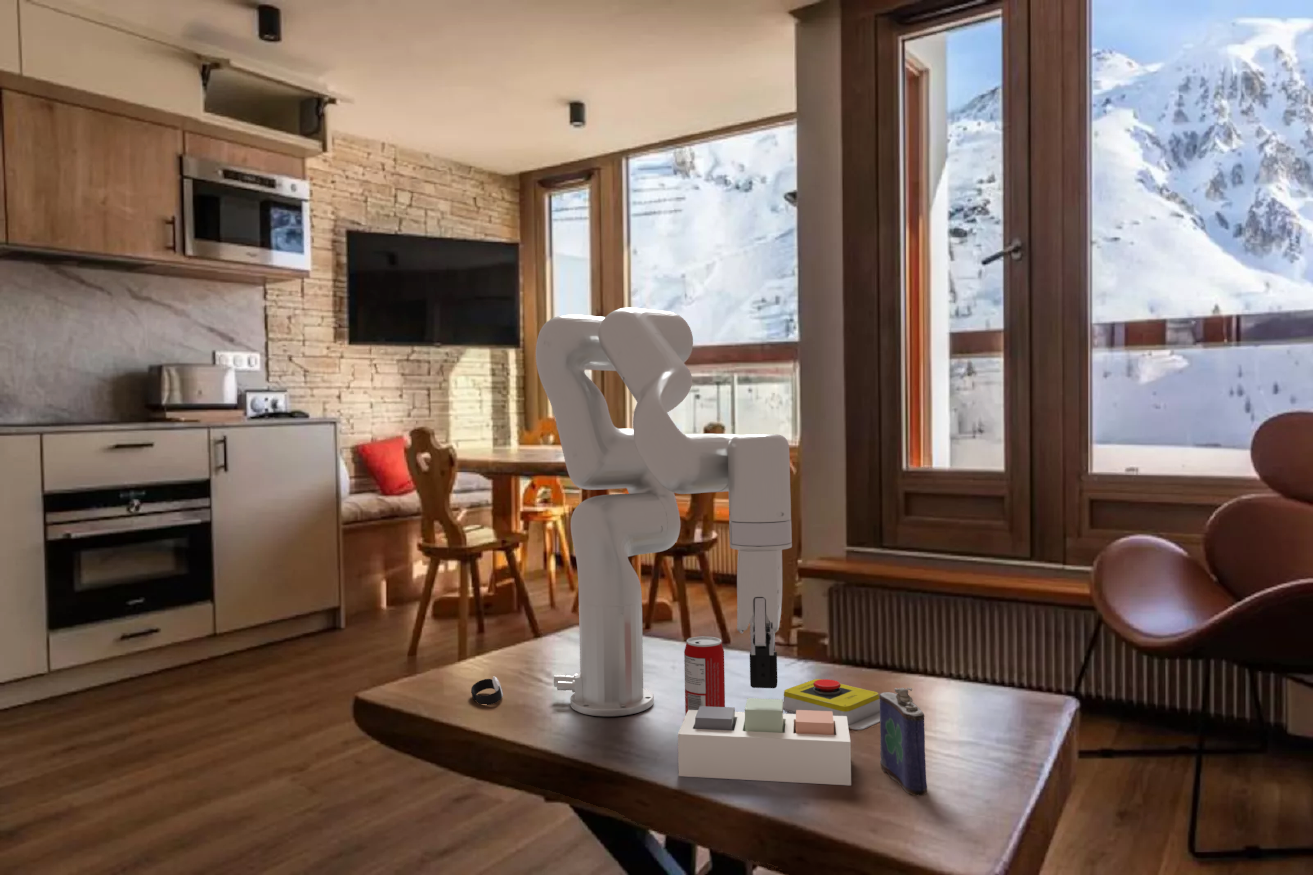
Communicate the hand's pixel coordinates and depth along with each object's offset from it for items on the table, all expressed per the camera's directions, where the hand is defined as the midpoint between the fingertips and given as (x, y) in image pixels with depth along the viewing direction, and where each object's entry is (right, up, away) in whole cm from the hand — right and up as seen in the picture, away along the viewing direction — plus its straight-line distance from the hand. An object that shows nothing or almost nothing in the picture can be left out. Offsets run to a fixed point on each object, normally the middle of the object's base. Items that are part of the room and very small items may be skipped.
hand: (764, 685), depth 103 cm
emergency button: (+13, -10, +21) cm, 26 cm away
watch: (-39, -11, +29) cm, 50 cm away
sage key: (0, -6, 0) cm, 6 cm away
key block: (0, -10, 0) cm, 10 cm away
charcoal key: (-6, -8, +1) cm, 10 cm away
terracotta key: (+6, -7, -1) cm, 10 cm away
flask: (+16, -10, -4) cm, 19 cm away
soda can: (-6, -10, +16) cm, 20 cm away
